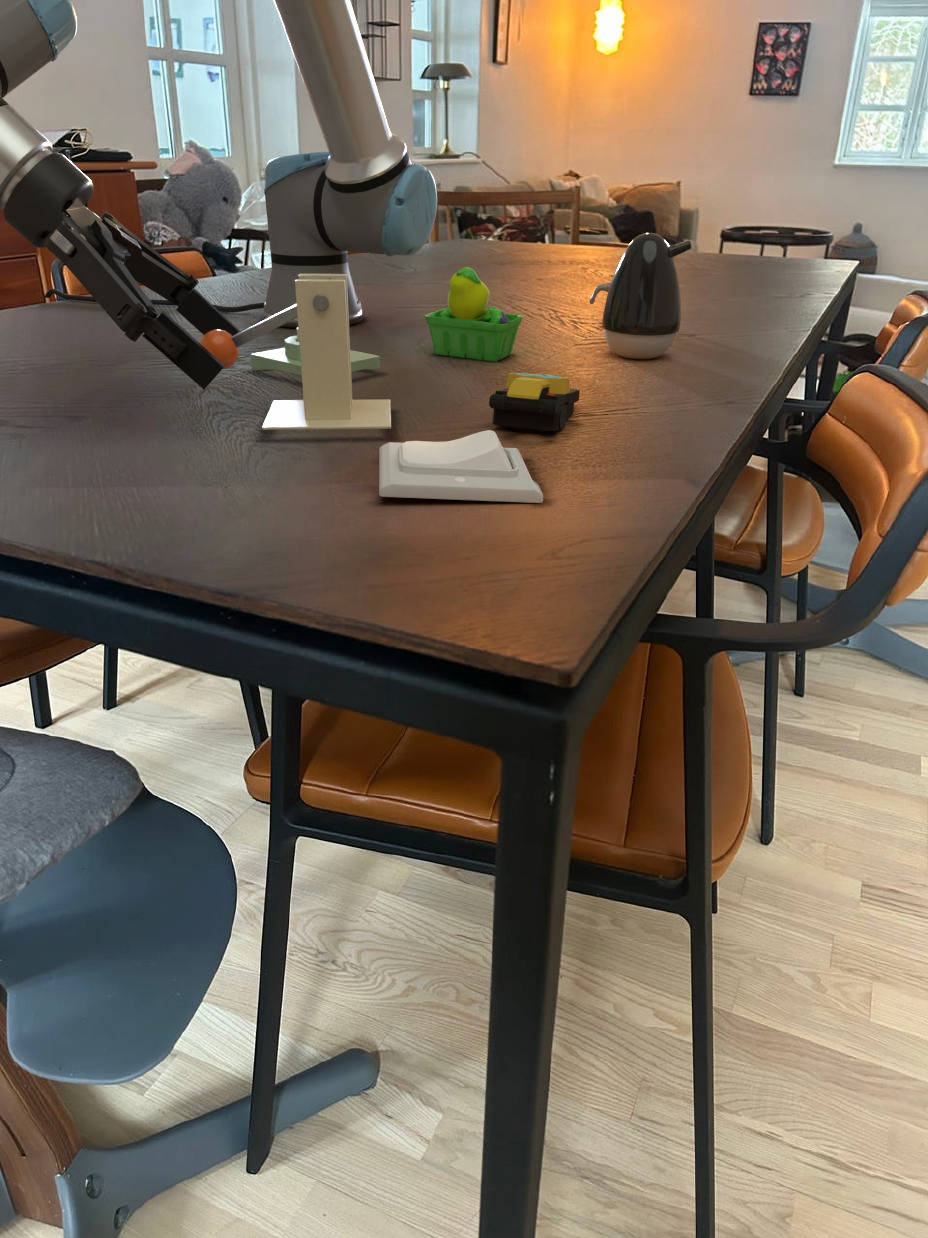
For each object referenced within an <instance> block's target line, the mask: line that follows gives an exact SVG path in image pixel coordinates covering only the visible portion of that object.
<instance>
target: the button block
mask: <svg viewBox="0 0 928 1238" xmlns="http://www.w3.org/2000/svg"><path fill="white" fill-rule="evenodd" d="M283 344H284V347H280V348H276V349H270V350H265V351H259V352H255V353H250V360H251V361H250V363H251V370H252V371H260V370H261V371H263V370H266V371H267V370H268V371H269V370H271V371H273V370H275V371H281V372H284V373H289V374H292V375H297V376H301V377H302V371H301V358H300V344H299V342H297V335H293V336H289V337H286V338H285V339H284V340H283ZM350 357H351V373H353V372H358V371H362V370H381V356H380V355H377V354H371V353H367V352H361V351H357V350H353V349H350Z"/></svg>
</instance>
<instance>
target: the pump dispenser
mask: <svg viewBox="0 0 928 1238" xmlns="http://www.w3.org/2000/svg"><path fill="white" fill-rule="evenodd" d="M692 247H693V246H692V242H691V241H690V240H686V241H683V242H679V243H676V244H673V245H669V243H668V242H667V241H666V239H665V238H664V237H663V236H661V235H659V234H658V233H654V232H646V233H642V234H639V235H638V236H636V237H635V238H633V239H632V241H631V242H630V243H629V244H628V245H627V247H626V249H625V250H624V252H623V254H622V256H621V258H620V260H619V262H618V264H617V266H616V269H615V271H614V274H613V276H612V279H611V282H610V283H611V284H610V287H609V291H608V292H607V295H606V299H605V303H604V309H603V314H602V319H601V320H602V321H601V327H602V328H603V331H604V338H605V341H606V344H607V345H608V347H609V349H610V350H611V351H612V352H613V353H615V355H618V356H620V357H622V358H624V359H625V358H626V359H633V360H650V359H651V360H652V359H655V358H657V357H660V356H662V355H663V354H665V353H666V352H667V351H668V350H669V349H670V347H671V346H672V345H673V343H674V341H675V338H676V336H677V333H678V332H679V331H680V328H681V320H682V319H681V317H682V315H681V313H682V311H681V309H682V308H681V307H682V306H681V302H682V301H681V289H680V282H679V274H678V270H677V266H676V262H675V257H677V256H679V255H682V254H683V253H685V252H688V251H690V250H691V249H692Z"/></svg>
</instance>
